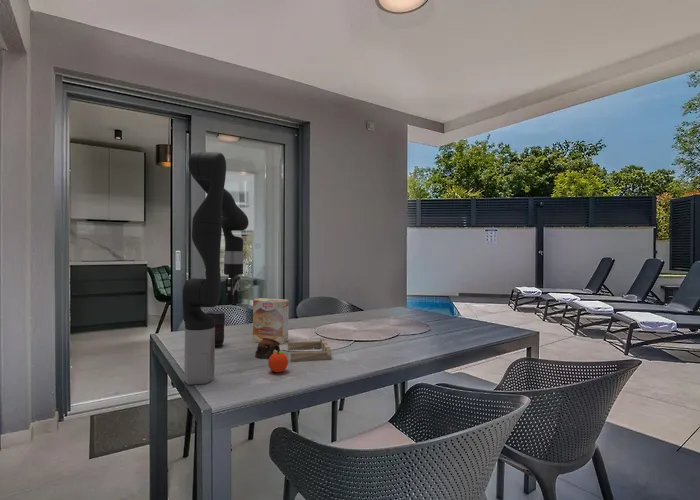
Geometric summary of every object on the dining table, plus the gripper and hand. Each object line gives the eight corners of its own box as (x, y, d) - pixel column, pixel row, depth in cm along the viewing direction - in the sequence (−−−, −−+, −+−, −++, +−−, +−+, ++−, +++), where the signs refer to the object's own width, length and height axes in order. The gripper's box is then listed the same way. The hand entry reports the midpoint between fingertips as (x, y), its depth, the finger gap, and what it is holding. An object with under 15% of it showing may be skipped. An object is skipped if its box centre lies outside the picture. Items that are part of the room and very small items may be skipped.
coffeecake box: (252, 342, 178) (252, 299, 177) (259, 338, 184) (259, 297, 184) (282, 344, 174) (283, 301, 174) (288, 340, 181) (289, 299, 181)
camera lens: (218, 349, 164) (218, 314, 164) (201, 348, 166) (201, 313, 166) (228, 344, 172) (228, 311, 172) (211, 343, 174) (211, 310, 174)
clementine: (281, 366, 142) (281, 347, 142) (294, 371, 138) (294, 351, 138) (263, 372, 136) (264, 351, 136) (276, 376, 132) (277, 355, 131)
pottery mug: (250, 356, 157) (257, 336, 160) (270, 364, 161) (277, 344, 164) (260, 355, 147) (268, 335, 151) (281, 364, 151) (289, 343, 154)
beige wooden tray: (330, 359, 152) (331, 349, 152) (291, 361, 149) (291, 351, 149) (323, 347, 170) (323, 338, 170) (287, 349, 166) (288, 339, 166)
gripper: (239, 263, 149) (238, 305, 149) (246, 262, 163) (246, 301, 163) (219, 263, 148) (218, 305, 148) (228, 262, 163) (227, 300, 162)
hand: (232, 303), depth 156 cm, fingers open, 8 cm apart
